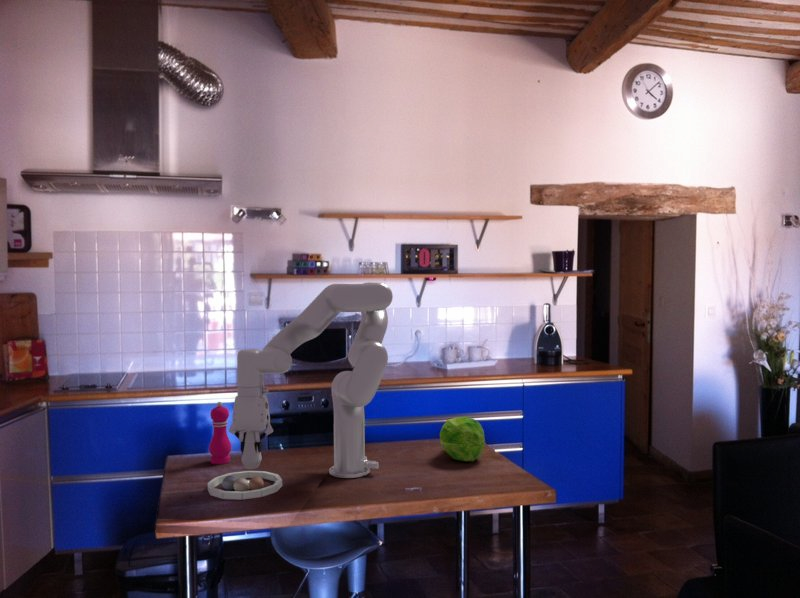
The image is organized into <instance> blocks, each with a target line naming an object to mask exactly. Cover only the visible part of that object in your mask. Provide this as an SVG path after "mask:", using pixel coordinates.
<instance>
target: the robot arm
mask: <svg viewBox="0 0 800 598" xmlns="http://www.w3.org/2000/svg"><path fill="white" fill-rule="evenodd" d="M393 296H394V295H393V291H392V290H391V288H390V287H389V286H388V285H387V284H385V283H382V282H364V283H331V284H330V285H327V286H326V287H324V289H322V290H321V292H320V293H319V294H318V295H317V296H316V297H315V298H314V299H313V300H312V301H311V302H310V303H309V304H308V306H307V307H306V308H305V309H303V311H302V312H301V313H299V315H298V316H297V317H295V318H294V319H293V320H291V321H290V322H289V323H288V324H287V325H286V326H284V327H283V328H282V329H281V330H279V331H278V332H277V334H275V335H274V337H272V338H271V340H270V341H268V343H267V344H266V345H265V346H264V347H263V348H262V349H258V348H246V349H240V350H239V351H238V352H237V354H236V356H237V357H236V359H237V360H236V362H237V363H236V367H237V368H236V369H237V370H236V372H237V376H236V377H237V380H236V381H237V386H236V387H237V395H236V396H235V397H234V403H233V407H232V418H231V419H232V421H231V422H232V423H231V424H230V427H229V429H228V432H229V433H230V434H232V435H234V436H235V437H236V439H238V441H239V442H240V452H241V456H242V455H243V451H244V446H245V442H244V441H245V434H246V430H247V428H251V431H255V437H256V442H255V443H254V445H255V451H256V452H257V447H258V452H262V441H263V439H265V437H266V436H268V435H271V434H272V433H273V432H274V429H273V427H272V425H271V415H270V405H269V399H268V395H265V394H267V393H269V388H268V387H265V377H264V375H265V374H268V375H269V374H271V375H282V374H285V373H287V372H288V371H289V370H290V368H291V367H292V365H293V358H292V356H291V354H292V353H293V352H294V351H295V350H296V349H297V348H298V347H300V346H301V345H303V344H304V343H306V342H308V341H310V340H313V339H315V338H317V337H318V336H320V335H321V334H322V333H323V332H324V331H325V330H326V328H327V327H328V326H330V324H331V323H332V322H333V321H334V320H335V318H337V317H338V315H339V314H340V313H361V314H360V316H361V319H360V324H359V326H358V328H357V331H356V333H355V336H354V338H353V341H352V342H351V345H350V348H349V350H348V353H347V359H348V362H349V364H350V365H351V366H352V367H353V369H352V370H344V371H341V372H339V373H338V374H336V375H335V377H334V378H333V380H332V383H331V397H332V404H333V408H332V409H333V465H332V466H331V467H330V468H329V469H328V471H329V472H328V473H329V475H330V476H333V477H335V478H339V479H340V478H341V479H354V478H362V477H364V476H367V475H368V474H369V473H370V472H371V469H378V470H379V467H380V466H379V461H376V460H369V459H368V456H367V455H366V450H365V449H366V448H365V435H366V434H365V430H366V429H365V422H366V421H365V417H366V416H365V406H367V405H368V404H370V403H371V402H372V400H373V398H374V397H375V395H376V393H377V391H378V388H379V386H380V383H381V382H382V378H383V376H384V374H385V372H386V368H387V365H388V361H389V355H388V351H387V348H386V347H385V346H384V345H383V341H384V338H385V335H386V332H387V329H388V324H389V320H388V319H389V318H388V311H387V309H388V307H389V306H390V305H391V304H392V302H393Z"/></svg>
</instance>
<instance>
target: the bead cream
mask: <svg viewBox="0 0 800 598" xmlns="http://www.w3.org/2000/svg"><path fill="white" fill-rule="evenodd" d="M247 480H248V479H247V478H238V479H236V480H235V482H234V485H233V487H234V489H233V490H234V491H240V492H243V491H248V489H247V488H248V482H247Z"/></svg>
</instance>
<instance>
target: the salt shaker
mask: <svg viewBox="0 0 800 598" xmlns="http://www.w3.org/2000/svg"><path fill="white" fill-rule="evenodd" d="M244 442H245V446H244V451H243V455H242V454H241V459H240V460H241V463H242V465H243V467H244V469H248V470H254V469H257V468H259V466H260V465H261V461H262V459H263V458H262V453H261V452H262V451H261V452H258V447H257V452H256V451H255V445H254V443H255V442H256V437H255V431H251V428H247V430H246V434H245V441H244Z"/></svg>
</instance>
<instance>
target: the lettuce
mask: <svg viewBox="0 0 800 598" xmlns="http://www.w3.org/2000/svg"><path fill="white" fill-rule="evenodd" d="M485 438H486V437H485V431H484V429H483V426H482V424H481V423H480V422H479V421H477V420H476V419H475V418H473V417H468V416H461V417H459V416H458V417H454V418H450V419H447V420H446V421H445V422H444V424H443V425H442V426H441V429H440V431H439V443H440V445H441V447H442V449H443V450H444V451H445V453H446V454H447V455H449V456H450V458H452V460H453V459H454V460H457V461H460V462H475V460H476V459H477V458H478V457H479V456H480V455H481V454H482V453H483V451H484V449H485V445H486V439H485Z"/></svg>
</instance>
